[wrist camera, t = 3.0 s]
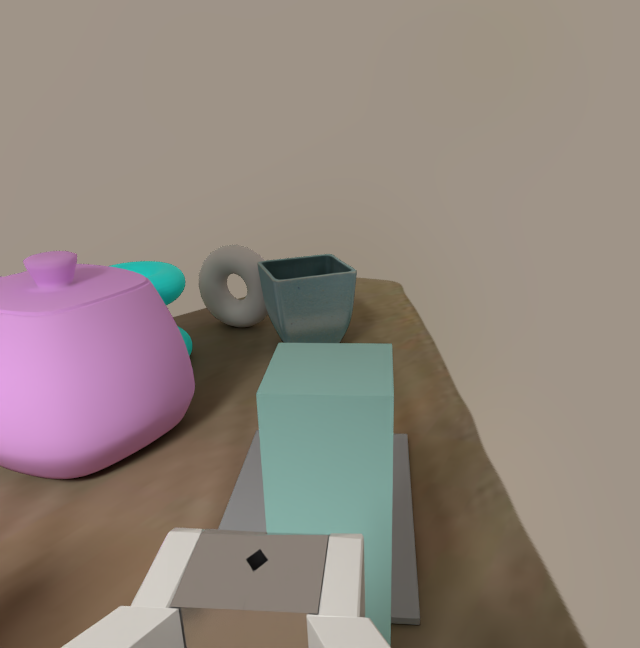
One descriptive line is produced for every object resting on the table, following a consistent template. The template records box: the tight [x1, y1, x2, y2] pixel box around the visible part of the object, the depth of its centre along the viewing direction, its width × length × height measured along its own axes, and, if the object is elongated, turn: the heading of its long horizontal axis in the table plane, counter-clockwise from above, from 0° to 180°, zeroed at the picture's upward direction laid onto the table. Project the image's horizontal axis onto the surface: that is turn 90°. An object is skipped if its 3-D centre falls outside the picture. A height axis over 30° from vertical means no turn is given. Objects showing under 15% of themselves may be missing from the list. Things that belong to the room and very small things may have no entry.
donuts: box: [109, 261, 192, 356], centre depth 61 cm, size 10×10×10 cm
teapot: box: [0, 251, 195, 479], centre depth 46 cm, size 23×21×15 cm
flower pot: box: [257, 254, 357, 343], centre depth 65 cm, size 9×9×9 cm
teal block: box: [256, 343, 394, 645], centre depth 24 cm, size 4×4×16 cm
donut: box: [199, 245, 268, 327], centre depth 71 cm, size 10×4×10 cm, turn 67°
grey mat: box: [218, 430, 420, 625], centre depth 39 cm, size 18×12×1 cm, turn 174°
